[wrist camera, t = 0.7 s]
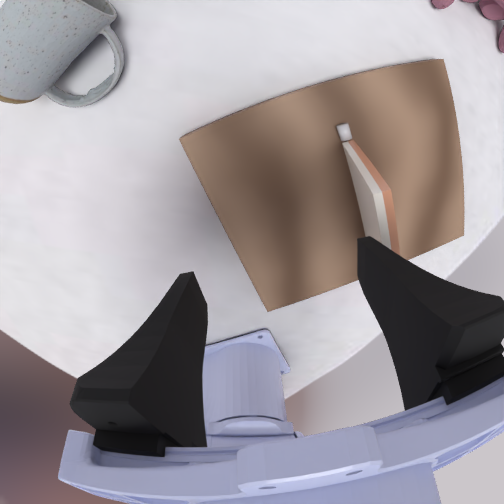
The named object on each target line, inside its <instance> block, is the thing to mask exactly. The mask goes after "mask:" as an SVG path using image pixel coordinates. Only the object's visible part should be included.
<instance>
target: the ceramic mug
mask: <svg viewBox="0 0 504 504" xmlns="http://www.w3.org/2000/svg"><path fill="white" fill-rule="evenodd" d="M116 17H117V15H116V11H115V9H114V7H113V6H112V5H111V4H110V3H109V2H108V0H6V1H5V2H4V4H3V5H2V7H1V8H0V101H2V102H6V103H13V104H21V103H27V102H31V101H34V100H36V99H38V98H39V97H40V96H42V95H43V94H45V95H47V96H48V97H49V98H50V99H52V100H53V101H54V102H57V103H58V104H60V105H63V106H67V107H82V106H86V105H90V104H92V103H94V102H96V101H98V100H99V99H101V98H102V97H103V96H105V95H106V94H107V93H108V92H109V91H110V90H111V89H112V88H113V87H114V86H115V84H116V83H117V81H118V79H119V77H120V75H121V72H122V69H123V66H124V52H123V48H122V45H121V43H120V41H119V39H118V37H117V35H116V34H115V32H114V31H113V30H112V29H111V27H110V24H111V23H112V22H113V21H114V20H115V19H116ZM100 34H103V35H104V36H105V37H106V38H107V39H108V42H109V44H110V46H111V48H112V50H113V53H114V57H115V67H114V73H113V74H112V75H110V76H109V77H108V78H107V79H106V80H105V81H104V82H103V83H101V84H100V85H99V86H97V87H96V88H94V89H91V90H90V91H89V92H88V94H87V95H85V96H74V95H71V94H68V93H66V92H64V91H62V90H60V89H59V88H57V87H56V86H55V85H54V83H55V82H56V80H57V79H58V78H59V77H60V76H61V75H62V74H63V72H64V71H65V70H66V69H67V68H68V67H69V65H70V64H71V62H72V61H73V60H74V59H75V58H76V57H77V56H78V55H79V54H80V53H81V52H82V51H83V50H84V49H85V48H86V47H87V46H88V45H89V44H90V43H91V42H92V41H93V40H94V39H95V38H96V37H97V36H98V35H100Z"/></svg>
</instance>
